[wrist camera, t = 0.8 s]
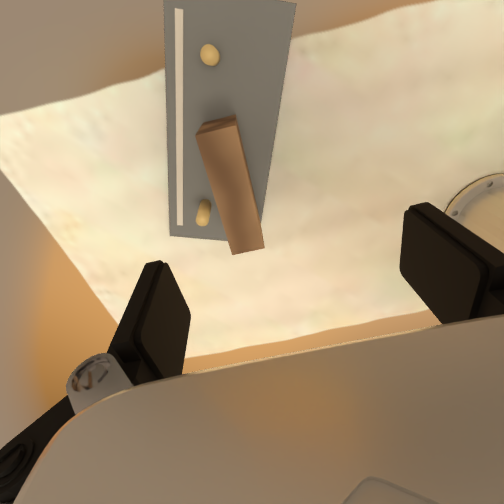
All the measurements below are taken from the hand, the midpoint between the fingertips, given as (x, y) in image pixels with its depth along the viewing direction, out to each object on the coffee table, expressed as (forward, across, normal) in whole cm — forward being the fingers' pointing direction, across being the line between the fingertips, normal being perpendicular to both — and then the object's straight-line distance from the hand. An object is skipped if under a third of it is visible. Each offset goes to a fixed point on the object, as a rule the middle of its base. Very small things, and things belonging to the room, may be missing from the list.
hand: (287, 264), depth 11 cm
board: (+29, +4, 0) cm, 29 cm away
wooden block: (+28, +3, +5) cm, 28 cm away
